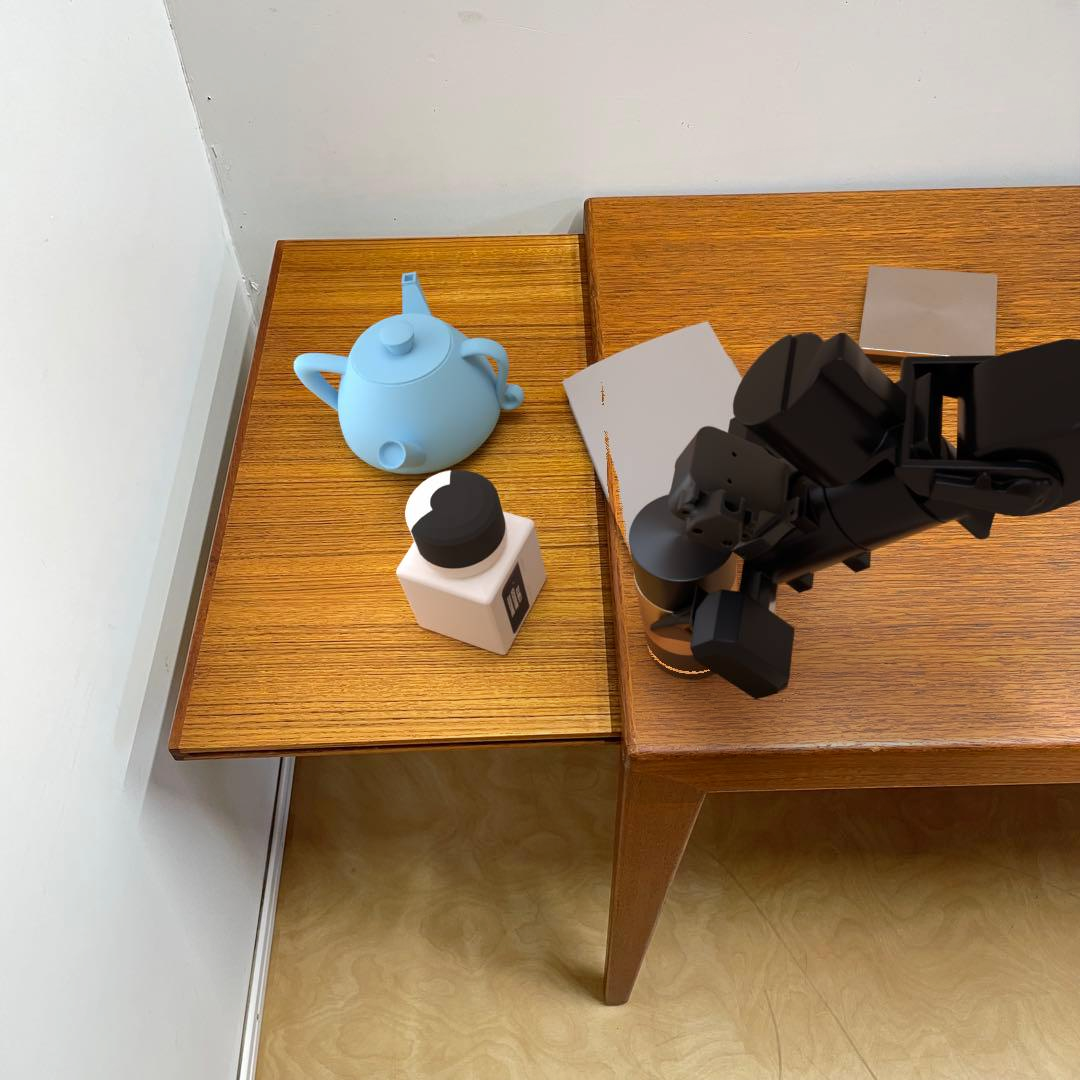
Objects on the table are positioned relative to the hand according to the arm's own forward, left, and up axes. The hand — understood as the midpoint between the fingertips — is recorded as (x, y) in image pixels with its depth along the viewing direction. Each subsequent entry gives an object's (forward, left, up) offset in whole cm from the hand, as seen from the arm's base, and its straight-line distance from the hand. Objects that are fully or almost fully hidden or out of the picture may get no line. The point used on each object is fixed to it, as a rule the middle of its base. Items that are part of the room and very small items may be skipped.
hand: (664, 583), depth 67 cm
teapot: (+30, +8, -8) cm, 32 cm away
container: (+10, +11, -8) cm, 17 cm away
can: (-1, -2, -7) cm, 7 cm away
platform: (+16, -36, -7) cm, 40 cm away
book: (+15, -10, -8) cm, 20 cm away
